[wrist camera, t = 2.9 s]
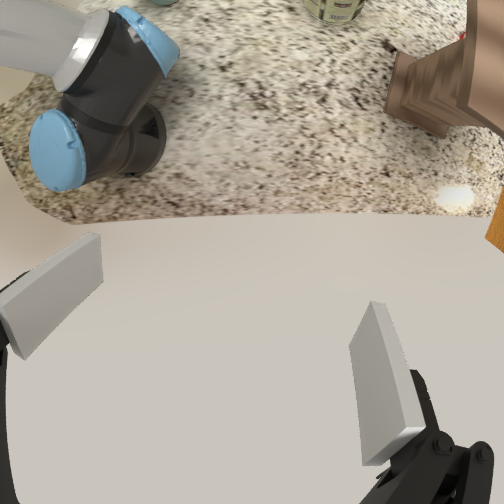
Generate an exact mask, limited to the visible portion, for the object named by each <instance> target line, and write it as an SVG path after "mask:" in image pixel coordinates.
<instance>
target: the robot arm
mask: <svg viewBox="0 0 504 504" xmlns="http://www.w3.org/2000/svg"><path fill="white" fill-rule="evenodd" d="M179 56H180V50H179V47H178V46H177V44H176V43H175V42H174V41H173V40H172V39H171V38H170V37H168V36H167V35H166V34H165V33H164V32H163V31H161V30H160V29H159V28H158V27H156V26H155V25H154V24H153V23H151V22H150V21H148V20H146V19H145V18H144V17H142V16H141V15H140V14H139V13H137V12H136V11H134V10H132V9H131V8H129V7H127V6H122V7H120V8H119V9H117V10H116V11H115V13H113V12H111V11H109V10H107V9H100V10H97V11H94V12H91V13H89V14H85V13H82V12H80V11H77V10H74V9H72V8H69V7H66V6H63V5H60V4H58V3H54V2H52V1H49V0H0V66H4V67H10V68H14V69H19V70H24V71H28V72H33V73H37V74H41V75H45V76H49V77H51V79H52V80H53V83H54V86H55V89H56V91H58V92H61V93H64V94H63V96H62V98H61V100H60V102H59V104H58V106H57V108H56V109H50V110H48V111H46V112H45V113H44V114H41V115H40V116H39V117H38V118H37V119H36V121H35V123H34V124H33V127H32V130H31V133H30V138H29V155H30V159H31V164H32V167H33V170H34V172H35V174H36V176H37V177H38V179H39V180H40V182H41V183H42V184H43V185H44V186H45V187H47V188H48V189H50V190H53V191H57V192H61V191H65V190H69V189H76V188H79V187H80V186H82V185H85V184H87V183H90V182H92V181H95V180H98V179H100V178H103V177H106V176H109V175H115V176H119V177H125V178H129V177H135V176H138V175H141V174H144V173H146V172H148V171H149V170H151V169H152V168H153V167H154V166H155V165H156V164H157V162H158V161H159V159H160V158H161V156H162V154H163V151H164V148H165V143H166V129H165V124H164V121H163V119H162V117H161V115H160V114H159V112H158V111H157V110H156V109H155V108H154V107H153V106H151V105H150V104H148V103H146V102H147V101H148V99H149V98H150V96H151V95H152V94H153V92H154V91H155V89H156V88H157V87H158V85H159V84H160V83H161V81H162V80H163V79H166V78H167V75H168V72H169V71H170V70H171V68H172V67H173V65H174V64H175V63H176V61H177V60H178V58H179ZM101 283H103V271H102V259H101V242H100V235H99V234H94V233H91V232H88V233H86V234H85V235H83V236H81V237H80V238H78V239H77V240H75V241H73V242H72V243H70V244H69V245H67V246H66V247H64V248H63V249H61V250H60V251H58V252H57V253H55V254H54V255H52V256H51V257H49V258H48V259H47V260H45V261H43V262H42V263H41V264H39V265H38V266H36V267H35V268H33V269H32V270H30V271H27V272H25V273H23V274H22V275H20V276H19V277H17V278H16V280H14V281H12V282H11V283H10V285H7V286H5V287H4V288H3V289H2V290H0V504H20V503H19V502H18V500H17V497H16V494H15V489H14V484H13V479H12V474H11V467H10V461H9V452H8V443H7V432H6V431H7V430H6V403H5V397H6V396H5V395H6V391H5V390H6V369H7V355H8V352H7V348H6V346H7V344H9V343H10V345H11V347H12V349H13V351H14V353H15V354H16V355H18V356H19V357H21V358H22V359H23V360H26V359H27V358H28V357H29V356H30V355H31V354H32V352H33V351H34V350H35V349H36V348H37V347H38V346H39V345H40V344H41V342H43V341H44V340H45V339H46V338H47V336H48V335H49V334H50V333H51V332H52V331H53V330H54V329H55V328H56V327H57V326H58V325H59V324H60V323H61V322H62V321H63V320H64V319H65V318H66V317H67V316H68V315H69V314H70V313H71V312H72V311H73V310H74V309H75V308H76V307H77V306H78V305H79V304H80V303H81V302H83V301H84V300H85V299H86V298H87V297H88V296H89V295H90V294H91V293H92V292H93V291H94V290H95V289H96V288H97V287H98V286H99V285H100V284H101ZM349 348H350V355H351V362H352V368H353V375H354V383H355V390H356V399H357V406H358V407H357V408H358V417H359V427H360V438H361V451H362V465H363V466H379V465H382V464H383V463H385V462H386V461H387V460H389V459H390V463H391V466H390V467H389V468H388V469H386V470H385V471H384V472H382V473H381V474H379V475H378V476H377V477H376V479H379V478H380V477H381V478H380V479H379V481H378V482H377V483H376V484H375V486H374V487H373V488H372V489H371V491H370V492H369V493H368V494H367V495H366V497H365V498H364V499H363V500H362V501H361V503H360V504H489V500H490V494H491V486H492V477H493V468H494V453H493V451H492V448H491V447H490V446H489V445H488V444H487V443H485V442H483V441H479V442H476V443H475V444H473V445H472V446H471V447H470V448H465V447H460V446H457V445H455V444H454V442H453V440H452V438H451V437H450V436H449V435H448V434H447V433H445V432H443V431H440V430H439V426H438V423H437V419H436V416H435V413H434V409H433V406H432V403H431V400H430V397H429V394H428V392H427V387H426V384H425V381H424V379H423V378H422V376H421V375H420V374H419V372H418V371H417V370H410V369H409V367H408V364H407V361H406V358H405V355H404V352H403V349H402V347H401V344H400V341H399V338H398V335H397V333H396V330H395V327H394V325H393V322H392V320H391V317H390V315H389V312H388V309H387V307H386V304H383V303H379V302H373V301H370V304H369V306H368V308H367V310H366V312H365V314H364V316H363V318H362V321H361V323H360V325H359V327H358V329H357V331H356V333H355V335H354V337H353V339H352V341H351V343H350V345H349ZM455 491H456V493H455Z"/></svg>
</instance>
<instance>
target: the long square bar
mask: <svg viewBox="0 0 504 504" xmlns="http://www.w3.org/2000/svg"><path fill="white" fill-rule="evenodd" d="M485 239H487V240H488V241H489V242H491V243H492V244H493V245H494V246H496V247H497V248H498V249H499V250H501V251H502V252H503V253H504V186H503V189H502V192H501V196H500V199H499V202H498V204H497V207H496V210H495V213H494V216H493V218H492V221H491V224H490V226H489V229H488V231H487V233H486V236H485Z"/></svg>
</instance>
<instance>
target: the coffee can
mask: <svg viewBox="0 0 504 504" xmlns="http://www.w3.org/2000/svg"><path fill="white" fill-rule="evenodd" d="M303 1H304V5H305V7H306V9H307V11H308V12H309V13H310V14H311V15H312V16H313V17H314V18H316V19H318V20H319V21H321V22H324V23H327V24H332V25H344V24H348V23H351V22H352V21H354V20H355V19H356V18H357V17H358V16H359V14H360V12H361V9H362V7H363V5H364V3H365V1H366V0H303Z"/></svg>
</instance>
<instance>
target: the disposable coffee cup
mask: <svg viewBox="0 0 504 504" xmlns="http://www.w3.org/2000/svg"><path fill="white" fill-rule="evenodd" d="M149 1H151V2H153V3H156V4H158V5H170V4H172V3H174V2H176V1H178V0H149Z"/></svg>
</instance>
